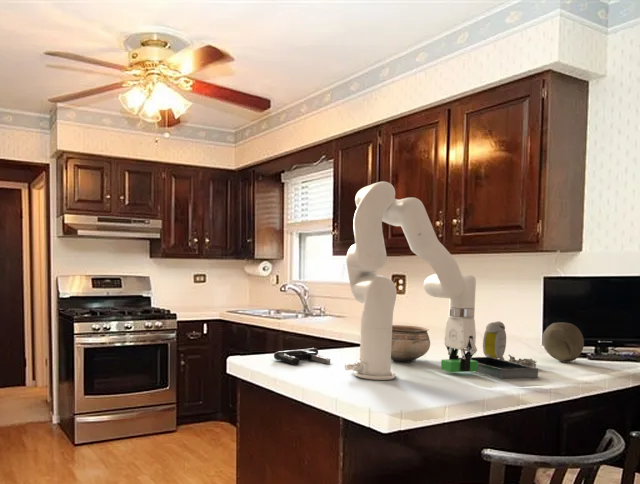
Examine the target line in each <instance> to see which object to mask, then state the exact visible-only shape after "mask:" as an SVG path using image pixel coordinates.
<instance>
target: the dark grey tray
mask: <svg viewBox="0 0 640 484" xmlns="http://www.w3.org/2000/svg"><path fill="white" fill-rule="evenodd" d="M459 359H463V358H462V357H459ZM470 360H474V361H478V371H474V372H475V373H479V374H481V375H486V376H488V377H492V378H495V379H496V378H497V379H499V380H520V379H521V380H523V379H538V378H539V368H537V367H536V368H534V367H530V366H526V365H522V364H518V363H514V362H509V360H505V359H504V360H501V359H499V358H493V357H486V356H482V357H481V356H472V359H470Z"/></svg>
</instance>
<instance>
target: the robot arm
mask: <svg viewBox="0 0 640 484" xmlns="http://www.w3.org/2000/svg"><path fill="white" fill-rule="evenodd" d="M354 201H355V202H354V203H355V206H356V210H355V212H354V216H353V220H352V221H353V225H352V226H353V235H354V244H352V245H351V246H350V247H349V248H348V250H347V253H346V259H345V260H346V262H345V263H346V269H347V274H348V281H349V285H350V290H351V293H352V296H353V298H354V299H355V300H356V301H357V302H358V303H361V304H363V308H362V311H361V318H360V337H359V338H360V339H359V360H355V361H356V362H354V363H345V364H344V370H345V371H352V372H353V375H354V376H355V377H357V378H361V379H364V380H365V379H366V380H373V381H374V380H375V381H388V380H389V381H390V380H393V379H395V378H396V373H395V372H393V371H391V369H392V368H391V365H392V359H391V345H392V325H393V321H394V319H393V318H394V311H395V310H394V309H395V305H396V301H397V292H398V291H397V286H396V284H395V283H394V281H393V280H392V279H391V278H389V277H387V276H384V275H379V274H377V272H379V271H380V270H382V269H384V267H385V266H386V265H387V260H388V256H387V250H386V244H385V238H384V232H383V223H385V224H387V225H390V226H394V227H401V229H402V232H403V234H404V236H405V238H406V241H407V243H408V246H409V249H410V251H411V252H412V253H413V254H415V255H416V256H417V257H418V258H421V259H422V260H423V261H425V262H426V263H427V264H428V265H429V266H430V267H431V268H432V270H433V271H434V273H433V274H431V275H429V276H427V277H426V278H425V280H424V282H423V290H424V291H425V293H426V294H427V295H429V296H431V297H433V298H441V299H442V298H443V299H449V308H448V309H449V310H448V316H447V319H446V323H445V324H446V325H445V328H444V329H445V331H444V346H445V347H446V350H447V355H448V359H459V358H460V355H458V354H459V350H460V351H461V358H463V359H461V364H460V371H470V359H472V357H474V355H475V354H476V353H477V351H478V347H477V346H476V339H477V338H476V337H477V333H476V331H477V330H476V320H475V309H476V289H477V287H476V286H477V278H476V277H475V276H474V275H469V274H463V273H462V272H461V269H460V267H459V264H458V263H457V261H456V259H455V258H454V256H453V255H452V254H451V253H450V252H449V250H448V249H447V248H446V247H445V245H443V243H441V242H440V240H439V239H438V237H437V233H436V232H435V230H434V227H433V224H432V222H431V220H430V218H429V215H428V213H427V210H426V207H425V205H424V204H423V202H422V200H420V199H419V198H416V197H405V198H401V199H397V198H396V190H395V187H394V186H393V184H392V183H391V182H389V181H378V182H375V183H372V184H370V185H366V186H364V187H362V188H360V189H359V190H358V191H357V192H356V194H355V198H354ZM470 372H471V371H470Z"/></svg>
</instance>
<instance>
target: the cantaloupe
mask: <svg viewBox="0 0 640 484" xmlns="http://www.w3.org/2000/svg"><path fill="white" fill-rule="evenodd" d="M542 344H543V348H544V350H545V352H546V353H547V354H548V355H549V356H550V357H552V358H553V359H555V360H557V361H559V362H562V363H570V362H574V361H575V360H577V359H578V358H579V357H580V356H581V354H582V352H583V350H584V346H585V338H584V335H583V334H582V332H581V329H579V328H578V327H577V326H576V325H575V324H573V323H569V322H553V323H551V324H550V325H548V326H547V327H546V329H545V330H544V331H543V333H542Z"/></svg>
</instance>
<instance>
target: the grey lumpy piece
mask: <svg viewBox="0 0 640 484" xmlns="http://www.w3.org/2000/svg"><path fill="white" fill-rule="evenodd" d="M508 357H509V359H508V361H509V362H514V363H518V364H522V365H526V366H530V367H534V368H537V364H536V363H537V361H536V360H533V359H532V358H523V359H521V357H519V358H518V359H516V358H515V356H513V355H511V354H508Z"/></svg>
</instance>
